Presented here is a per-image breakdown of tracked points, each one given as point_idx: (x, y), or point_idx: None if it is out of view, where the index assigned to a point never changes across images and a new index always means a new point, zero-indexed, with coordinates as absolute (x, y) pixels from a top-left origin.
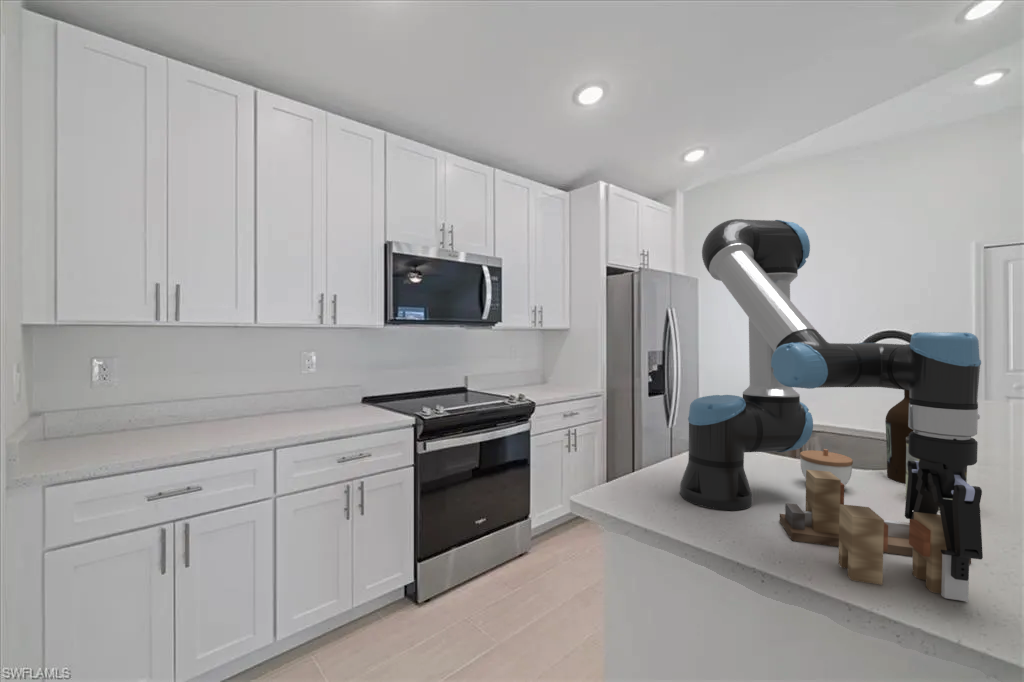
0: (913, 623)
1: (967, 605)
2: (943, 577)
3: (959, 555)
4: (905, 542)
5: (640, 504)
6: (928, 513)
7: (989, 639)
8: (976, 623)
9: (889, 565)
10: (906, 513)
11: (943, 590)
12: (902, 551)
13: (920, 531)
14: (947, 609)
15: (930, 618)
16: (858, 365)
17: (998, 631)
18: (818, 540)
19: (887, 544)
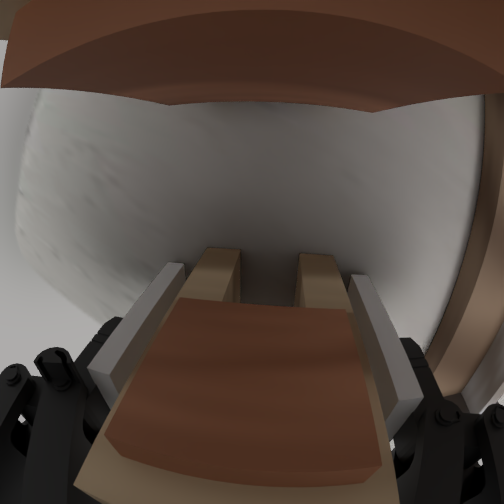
0: (37, 124)
1: None
2: (149, 297)
3: (10, 366)
4: (480, 328)
5: None
6: None
7: (45, 253)
8: (87, 267)
9: (388, 209)
10: (501, 425)
11: (167, 273)
12: (457, 299)
13: (171, 418)
14: (118, 237)
15: (63, 170)
16: None
17: (79, 291)
18: None
19: (147, 99)
